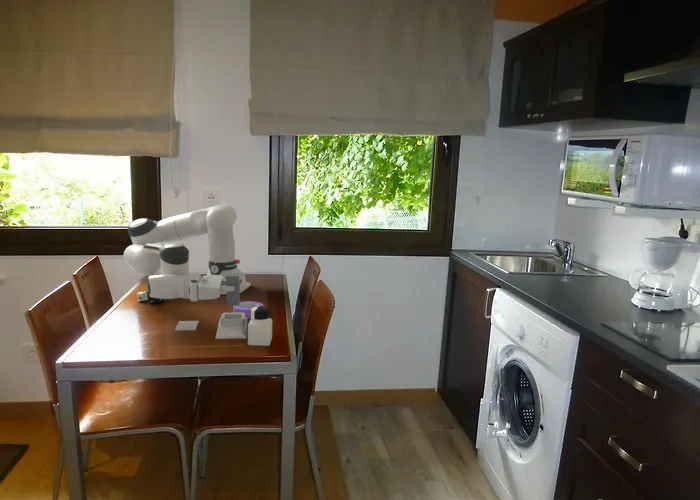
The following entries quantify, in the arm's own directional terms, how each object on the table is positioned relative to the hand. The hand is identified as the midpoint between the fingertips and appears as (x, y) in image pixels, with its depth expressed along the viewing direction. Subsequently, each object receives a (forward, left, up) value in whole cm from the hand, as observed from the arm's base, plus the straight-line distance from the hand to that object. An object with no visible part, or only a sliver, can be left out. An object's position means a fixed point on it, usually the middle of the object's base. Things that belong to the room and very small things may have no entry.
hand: (235, 286), depth 179 cm
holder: (+4, +1, -15) cm, 15 cm away
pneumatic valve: (-8, -52, -14) cm, 54 cm away
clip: (0, -1, -7) cm, 7 cm away
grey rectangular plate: (+8, -15, -15) cm, 23 cm away
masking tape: (-14, -3, -15) cm, 21 cm away
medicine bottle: (+10, +16, -15) cm, 24 cm away
